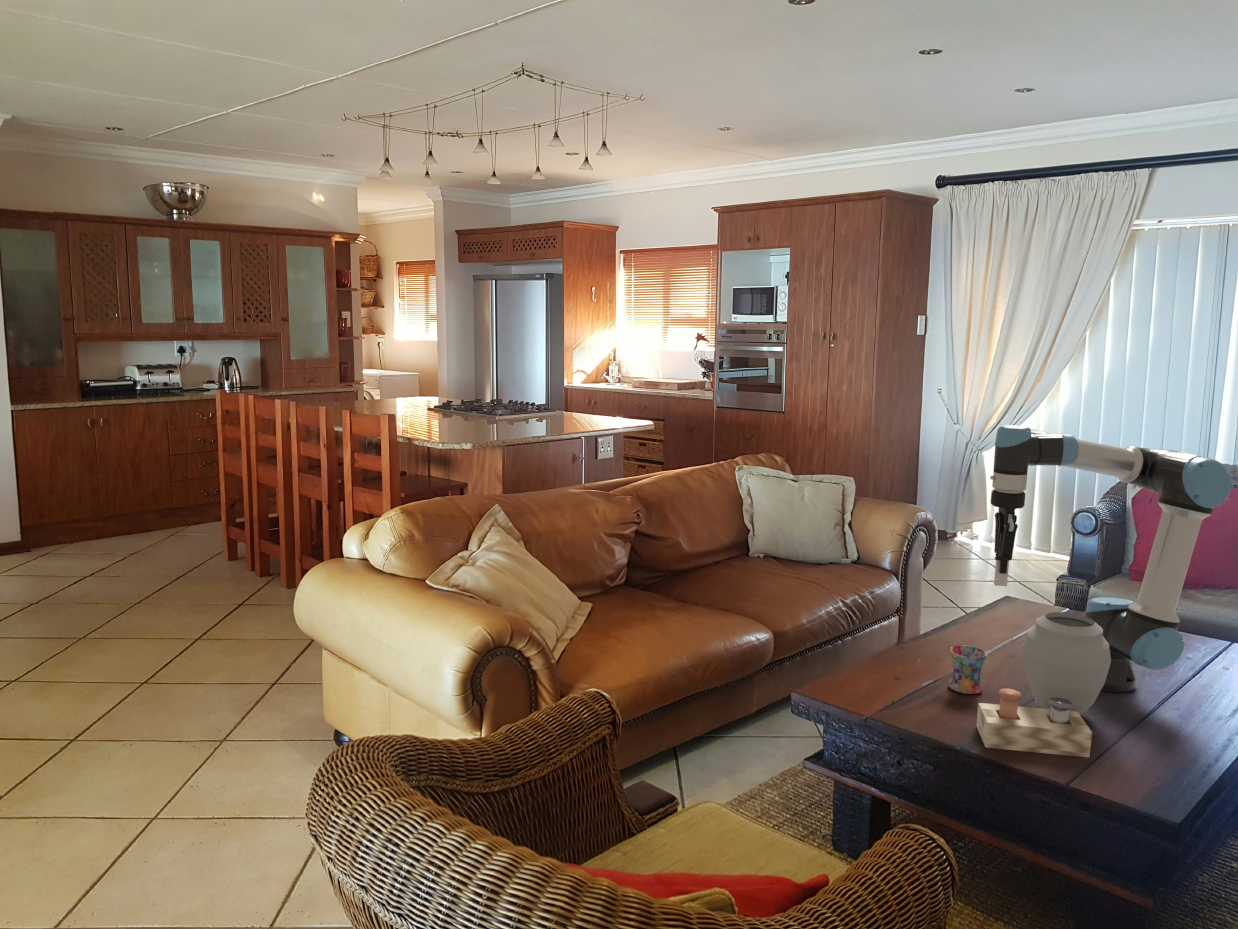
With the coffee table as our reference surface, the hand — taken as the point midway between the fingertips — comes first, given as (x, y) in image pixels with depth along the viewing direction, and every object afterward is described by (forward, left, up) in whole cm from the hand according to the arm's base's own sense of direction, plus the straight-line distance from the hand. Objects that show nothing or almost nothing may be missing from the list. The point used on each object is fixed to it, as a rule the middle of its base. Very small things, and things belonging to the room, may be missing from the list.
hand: (1000, 584), depth 223 cm
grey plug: (-12, +16, -31) cm, 37 cm away
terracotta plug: (0, +16, -30) cm, 34 cm away
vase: (-17, -2, -33) cm, 37 cm away
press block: (-6, +16, -32) cm, 37 cm away
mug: (+3, -13, -33) cm, 35 cm away
